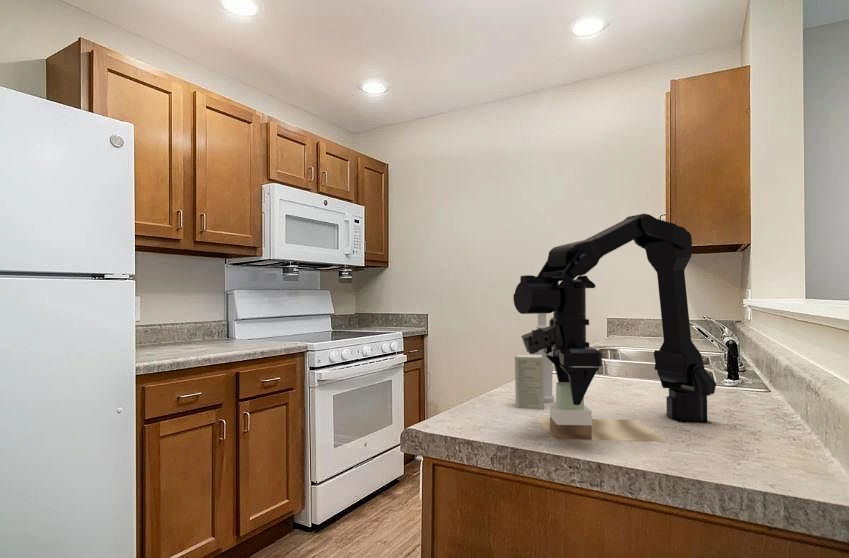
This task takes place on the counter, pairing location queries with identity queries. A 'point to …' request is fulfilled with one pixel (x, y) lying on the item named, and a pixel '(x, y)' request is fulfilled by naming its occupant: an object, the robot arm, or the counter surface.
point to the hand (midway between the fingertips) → (570, 398)
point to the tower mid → (570, 415)
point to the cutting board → (614, 430)
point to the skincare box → (529, 381)
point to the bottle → (545, 365)
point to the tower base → (571, 431)
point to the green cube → (566, 397)
